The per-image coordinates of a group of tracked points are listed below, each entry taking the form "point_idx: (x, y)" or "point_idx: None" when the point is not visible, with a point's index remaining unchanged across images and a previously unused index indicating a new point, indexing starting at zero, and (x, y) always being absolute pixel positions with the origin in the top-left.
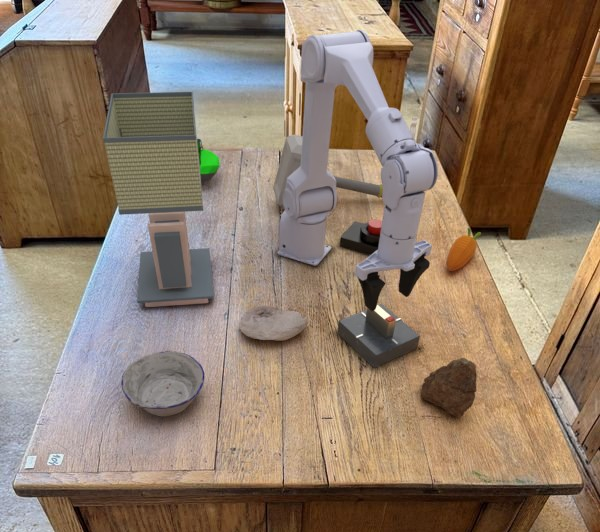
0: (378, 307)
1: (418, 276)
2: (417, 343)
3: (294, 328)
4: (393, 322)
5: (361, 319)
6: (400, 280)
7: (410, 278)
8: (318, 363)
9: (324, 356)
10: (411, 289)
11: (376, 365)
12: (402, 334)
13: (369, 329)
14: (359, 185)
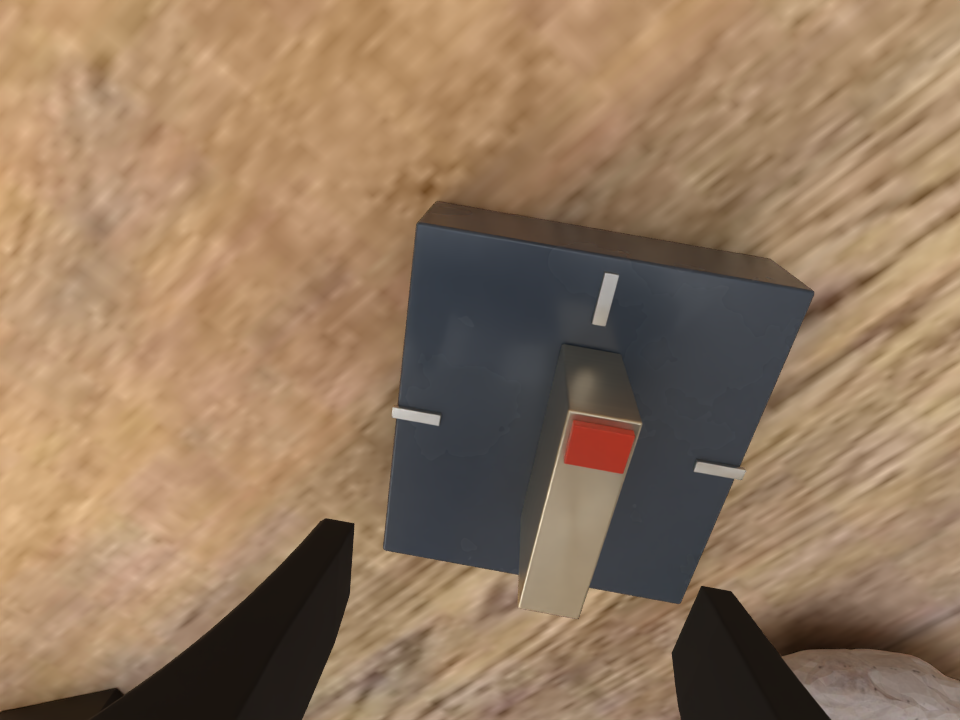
0: (544, 565)
1: (174, 705)
2: (438, 209)
3: (899, 696)
4: (591, 408)
5: None
6: (308, 694)
7: (263, 711)
8: (925, 472)
9: (856, 484)
10: (296, 568)
11: (762, 260)
12: (502, 311)
13: None
14: None
